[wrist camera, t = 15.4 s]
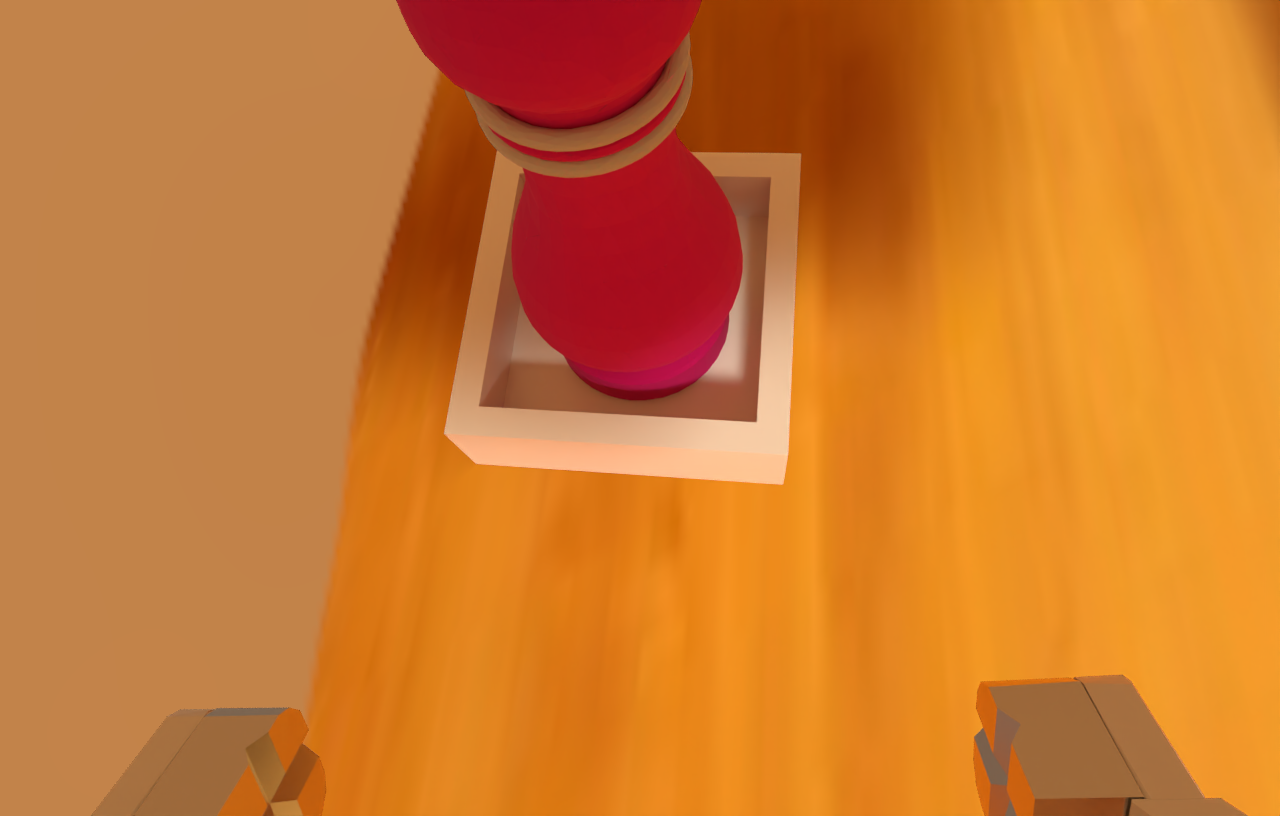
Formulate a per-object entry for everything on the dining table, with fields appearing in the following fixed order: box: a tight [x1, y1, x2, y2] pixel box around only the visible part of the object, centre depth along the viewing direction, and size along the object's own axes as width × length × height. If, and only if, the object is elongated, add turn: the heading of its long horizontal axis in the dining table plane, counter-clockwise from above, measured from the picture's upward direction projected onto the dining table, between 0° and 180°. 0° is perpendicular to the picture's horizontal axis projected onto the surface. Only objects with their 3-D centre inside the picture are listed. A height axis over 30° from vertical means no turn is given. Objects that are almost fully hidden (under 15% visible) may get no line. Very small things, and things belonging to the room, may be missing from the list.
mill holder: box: [444, 150, 801, 485], centre depth 30 cm, size 11×11×4 cm
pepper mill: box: [396, 0, 743, 400], centre depth 21 cm, size 7×7×20 cm
